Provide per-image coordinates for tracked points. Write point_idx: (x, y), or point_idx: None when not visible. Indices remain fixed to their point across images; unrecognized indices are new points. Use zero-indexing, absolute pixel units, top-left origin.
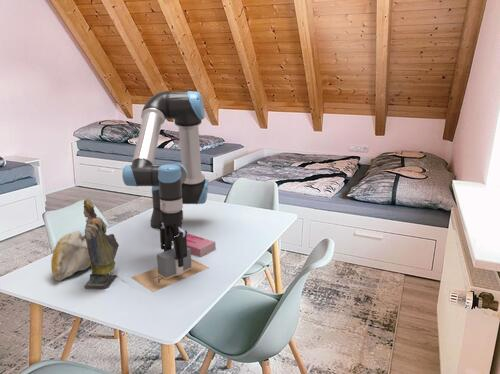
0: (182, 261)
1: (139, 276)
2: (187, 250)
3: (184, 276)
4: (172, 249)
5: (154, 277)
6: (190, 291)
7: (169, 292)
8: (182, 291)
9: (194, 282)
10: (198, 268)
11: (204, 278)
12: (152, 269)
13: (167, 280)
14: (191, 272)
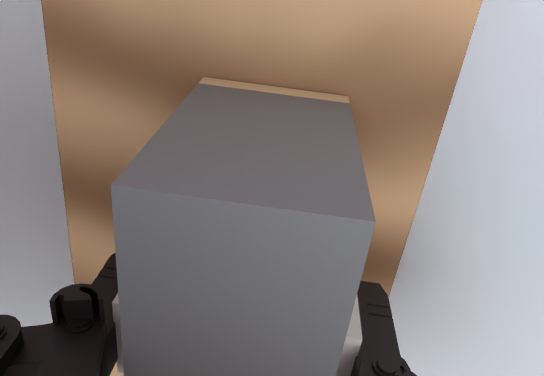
0: (391, 337)
1: (113, 370)
2: (359, 279)
3: (381, 224)
4: (149, 365)
5: None
6: (539, 307)
7: None
8: (483, 330)
9: (491, 206)
10: (396, 28)
11: (540, 107)
12: (77, 273)
13: None
14: (388, 138)
